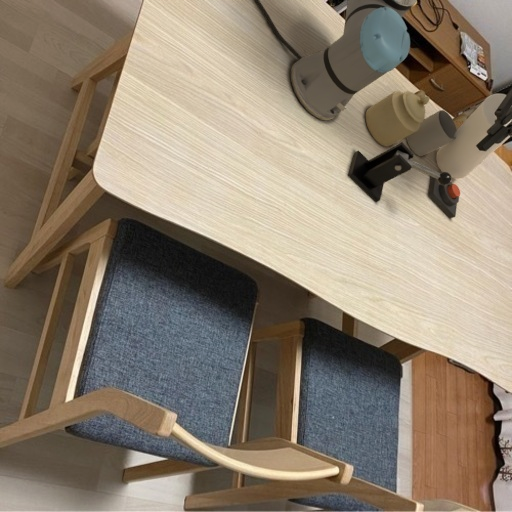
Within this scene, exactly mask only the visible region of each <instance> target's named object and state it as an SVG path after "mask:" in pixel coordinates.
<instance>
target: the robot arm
mask: <svg viewBox="0 0 512 512" xmlns="http://www.w3.org/2000/svg"><path fill="white" fill-rule="evenodd" d="M254 2H255V4H256V5H257V6H258V8H259V10H260V11H261V13H262V14H263V16H264V18H265V20H266V21H267V24H269V26H270V28H271V30H272V31H273V33H274V35H276V37H277V39H278V40H279V41H280V42H281V44H282V45H284V46H285V48H287V50H289V52H291V54H292V55H293V56H294V57H295V58H296V59H297V60H296V61H295V62H294V63H293V64H292V66H291V69H290V82H291V87H292V89H293V92H294V94H295V96H296V98H297V100H298V101H299V102H300V104H301V106H303V107H304V109H305V110H306V111H307V112H308V113H309V114H311V116H313V117H315V118H317V119H319V120H323V121H330V120H332V119H334V118H336V117H337V116H339V115H340V114H341V113H342V112H344V111H345V110H346V109H347V107H346V106H347V105H348V103H349V102H350V100H351V99H352V98H353V97H354V96H355V94H358V93H359V92H360V91H361V90H363V89H365V88H366V87H367V86H369V85H370V84H373V82H376V80H379V78H381V77H383V76H384V75H386V74H387V73H389V72H391V71H393V70H394V69H396V68H397V67H398V66H399V65H400V64H401V63H402V62H403V61H405V59H406V58H407V57H408V55H409V52H410V48H411V38H410V33H409V32H408V31H407V30H408V27H407V25H406V23H405V21H404V19H403V17H404V16H405V14H406V13H407V12H408V11H409V10H411V8H412V7H413V6H414V5H415V3H416V2H417V0H346V10H345V18H344V19H345V20H344V26H343V27H344V28H343V34H342V35H341V36H340V37H339V38H338V39H337V40H335V41H334V42H333V43H331V45H329V46H328V47H326V48H325V49H323V50H320V51H316V52H314V53H311V54H307V55H305V56H301V55H300V54H299V53H298V52H297V51H296V49H295V48H294V47H293V46H292V45H291V44H290V43H289V42H288V41H287V40H286V39H285V38H284V37H283V36H282V34H281V33H280V32H279V30H278V28H277V27H276V25H275V23H274V22H273V20H272V19H271V16H270V15H269V13H268V12H267V10H266V8H265V6H264V5H263V4H262V2H261V1H260V0H254ZM506 95H507V96H506V97H505V98H504V100H503V101H502V103H501V104H500V105H499V107H498V108H497V110H496V111H495V113H494V114H495V116H496V117H497V119H496V120H495V123H494V124H493V125H492V126H491V127H490V128H489V129H488V130H487V133H488V135H487V136H486V137H485V138H483V139H482V140H481V141H480V142H479V143H478V144H477V145H476V147H477V148H478V149H479V151H487V150H488V149H489V148H490V147H491V146H492V145H494V144H499V143H501V142H502V141H503V140H504V139H505V138H506V137H507V136H510V137H509V138H512V121H511V122H510V123H509V124H508V125H507V126H506V127H505V126H504V125H505V124H507V123H508V122H509V121H510V120H511V119H512V107H511V106H512V87H511V89H509V91H508V92H507V94H506ZM510 107H511V108H510Z"/></svg>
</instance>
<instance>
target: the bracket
mask: <svg viewBox="0 0 512 512" xmlns="http://www.w3.org/2000/svg"><path fill="white" fill-rule="evenodd" d="M397 150H399V151H401V152H403V153H406V154H408V155H409V156H408V159H409V160H411V159H413V158H414V157H415V153H414V152H413V151H412V150H411V149H410V148H409V147H407V146H406V144H404V143H403V141H401V142H399V143H397V144H396V145H394V146H392V147H390V148H388V149H386V150H384V151H382V152H380V153H379V154H377V155H376V156H374V157H372V158H370V159H368V158H367V157H366V156H365V154H363V153H362V152H361V151H360V150H356V151H355V152H354V154H353V157H352V160H351V165H350V168H349V172H348V175H347V176H348V177H349V178H350V179H351V180H352V181H353V182H354V183H356V185H357V186H359V187H360V189H361V190H362V191H364V193H366V194H367V195H368V196H369V197H370V198H371V199H372V200H373V201H374V202H375V203H377V202H380V201H381V198H382V193H383V189H384V184H385V183H387V182H389V181H391V180H393V179H395V178H397V177H399V176H401V175H403V174H405V173H407V172H409V171H411V170H412V168H411V167H412V166H411V165H410V164H409V163H408V162H407V161H406V160H405V159H404V158H403V157H402V156H401V155H400V154H398V155H396V156H394V154H395V153H396V151H397ZM393 156H394V157H393ZM392 157H393V158H392Z"/></svg>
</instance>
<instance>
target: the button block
mask: <svg viewBox="0 0 512 512" xmlns="http://www.w3.org/2000/svg"><path fill="white" fill-rule="evenodd" d="M452 184H453V182H452V181H451V182H450V183H449V184H448V185H441V184H439V182H438V179H436V178H434V177H432V176H430V180H429V185H428V186H429V187H428V193H427V196H428V198H429V199H430V200H431V201H432V202H433V203H434V204H435V205H436V206H437V207H438V208H439V209H440V210H441V211H442V212H443V213H444V214H445V215H446V216H447V217H448V218H449V219H453V218H455V217H456V216H457V207H458V203H459V201H460V196H459V197H456V198H454V199H452V198H451V197H450V196H449V194H448V191H447V187H448V186H450V185H452Z"/></svg>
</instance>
